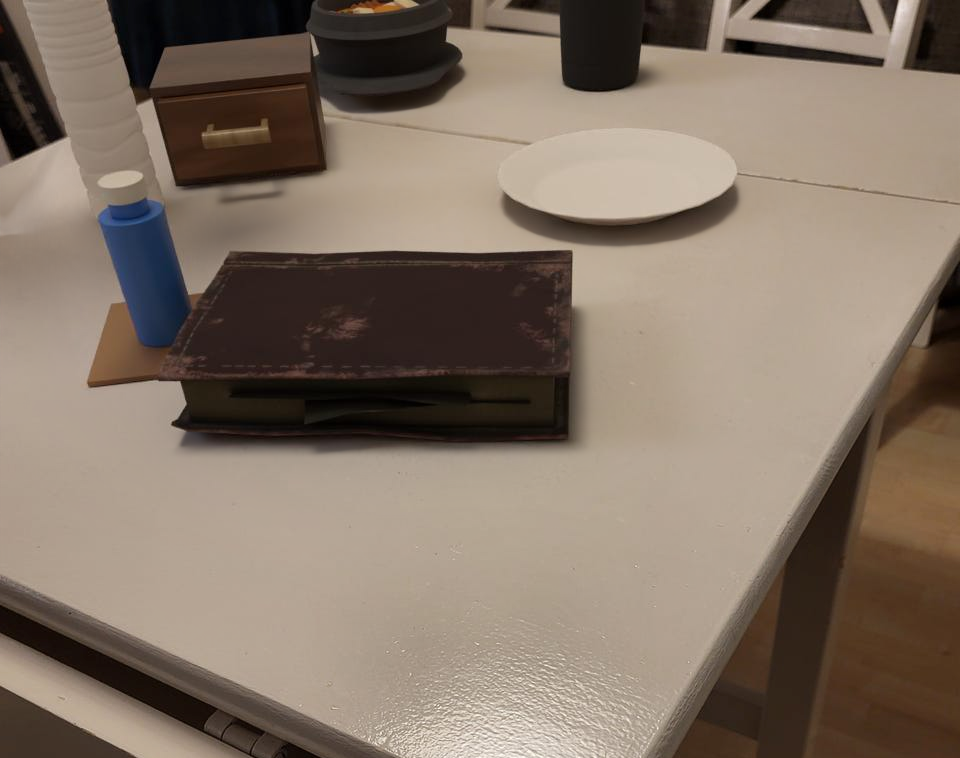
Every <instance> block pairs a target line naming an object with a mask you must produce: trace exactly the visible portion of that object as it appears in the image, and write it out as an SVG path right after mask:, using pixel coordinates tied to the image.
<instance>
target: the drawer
mask: <svg viewBox="0 0 960 758" xmlns="http://www.w3.org/2000/svg"><path fill="white" fill-rule="evenodd" d="M158 107H159V110H160V114H161V118H162V121H163V125H164V129H165V133H166V136H167V140H168V144H169V147H170V151H171V155H172V159H173V162H174V166H175V170H176V173H177V177H178V180H181V179H190V178H199V177H208V176H217V175H227V174H236V173H245V172H254V171H263V170H273V169H282V168H291V167H300V166H309V165H318V164H319V157H318V151H317V145H316V139H315V133H314V127H313V122H312V116H311V110H310V104H309V98H308V92H307V86H306V84H303V83H296V84H287V85H277V86H268V87H258V88H248V89H239V90H229V91H220V92H210V93H201V94H191V95H181V96H172V97H170V98H163V99H159V101H158Z"/></svg>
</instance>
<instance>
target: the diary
mask: <svg viewBox="0 0 960 758" xmlns="http://www.w3.org/2000/svg"><path fill="white" fill-rule="evenodd" d="M573 256H574V252H573V250H572V249H555V250H554V249H552V250H551V249H549V250H525V251H523V250H521V251H498V252H497V251H495V252H494V251H493V252H461V251H459V252H458V251H457V252H455V251H421V250H420V251H419V250H374V251H351V252H347V251H345V252H321V253H319V252H318V253H310V252H309V253H306V252H279V251H277V252H276V251H252V250H230V251H228V254H227V256H226V257H225V259H224V261H223V262H222V264H221V265H220V267H219V269H218V270H217V272H216V274H215V275H214V277H213V279H212V280H211V281H210V283H209V284H208V286H207V287H206V288H205V290H204V291H203V292H202V293H203V294H202V296H201V297H200V298H199V300H198V301H197V303H196V304H195V306H194V308H193V309H192V311H191V313H190V314H189V316H188V318H187V319H186V321H185V323H184V324H183V326H182V328H181V329H180V331H179V333H178V335H177V337H176V339H175V341H174V343H173V344H172V346H171V348H170V350H169V352H168V354H167V356H166V358H165V360H164V362H163V364H162V366H161V368H160V371H159V374H158V378H157V379H156V380H157V381H158V382H180V386H181V389H182V393H183V397H184V399H185V403H186V404H185V406H184V407H183V408H182V411H181V412H180V414H179V416H178V417H177V418H176V419H174V420H172V421H171V423H170V425H171V426H172V427H174V428H176V429H179V430H183V431H185V432H193V433H194V432H195V433H210V434H232V435H253V436H271V437H272V436H273V437H274V436H275V437H276V436H308V435H309V436H310V435H341V434H342V435H346V434H347V435H348V434H367V435H378V436H379V435H380V436H391V437H400V438H412V439H413V438H414V439H421V440H422V439H424V440H436V441H445V442H458V443H462V442H463V443H464V442H466V443H468V442H497V441H498V442H499V441H527V440H529V441H530V440H531V441H533V440H568V439H569V433H570V432H569V431H570V430H569V428H570V427H569V426H570V384H571V383H570V378H571V360H572V357H571V356H572V355H571V354H572V314H573V313H572V312H573V311H572V307H573V304H572V303H573V261H574V260H573V259H574V258H573Z"/></svg>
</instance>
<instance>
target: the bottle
mask: <svg viewBox="0 0 960 758" xmlns="http://www.w3.org/2000/svg"><path fill="white" fill-rule="evenodd" d="M98 187H99V190H100V193H101V196H102V199H103V201H104V203H106V204H108V208H106V209H104V210H103V211H102V212H101V213H100V214H99V216H98V220H97V221H98V225H99V227H100V230H101V233H102V236H103V239H104V242H105V244H106V249H107V250H108V255H109V256H110V260H111V263H112V266H113V269H114V272H115V274H116V278H117V280H118V284H119V287H120V289H121V293H122V296H123V299H124V302H126V305H127V308H128V311H129V314H130V317H131V320H132V323H133V326H134V329H135V332H136V335H137V338H138V340H139V341H140V342H141V343H142V344H144V345H147V346H151V347H165V346H171V345H172V344H173V343H174V341H175V339H176V337H177V335H178V333H179V331H180V329H181V328H182V326H183V324H184V323H185V321H186V319H187V318H188V316H189V314H190V313H191V311H192V306H191V302H190V299H189V295H190V294H189V292H188V288H187V285H186V282H185V278H184V275H183V272H182V271H183V270H182V267H181V264H180V261H179V257H178V253H177V250H176V247H175V244H174V243H175V242H174V240H173V236H172V233H171V229H170V226H169V221H168V218H167V215H166V212H165V211H166V210H165V207H163V205H162V204H161V203H159V202H157V201H154V200H147V195H148V190H147V187H146V183H145V180H144V176H143V174H142V173H140V172H137V171H120V172H115V173H111V174H108V175H106V176H104V177H102V178H101V179H99V181H98Z"/></svg>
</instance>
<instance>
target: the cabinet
mask: <svg viewBox="0 0 960 758" xmlns="http://www.w3.org/2000/svg"><path fill="white" fill-rule="evenodd" d="M311 36H312V35H311V34H310V33H309V32H305V33H296V34H295V33H293V34H285V35H276V36H264V37H255V38H247V39H245V38H244V39H236V40H225V41H216V42H206V43H198V44H196V43H195V44H188V45H187V44H186V45H177V46H176V45H175V46H167V47H166V46H165V47H164V49H163V52H162V54H161V57H160V60H159V62H158V64H157V67H156V70H155V72H154V75H153V78H152V80H151V83H150V85H149V93H150V96H151V100H152V105H153V107H154V112H155V115H156V119H157V122H158V126H159V129H160V133H161V137H162V141H163V144H164V148H165V151H166V155H167V159H168V162H169V166H170V170H171V173H172V177H173V180H174V184H175V187H179V186H180V187H181V186H188V185H197V184H206V183H214V182H215V183H216V182H223V181H233V180H235V181H236V180H243V179H253V178H260V177H262V178H263V177H270V176H280V175H289V174H296V173H297V174H299V173H307V172H317V171H326V170H327V169H328V168H327V146H326V124H325V118H324V112H323V105H322V98H321V91H320V85H319V80H318V79H317V73H316V67H315V61H314V56H315V55H314V49H313V43H312V37H311ZM296 83H303V84H306V86H307V92H308V98H309V104H310V110H311V116H312V122H313V127H314V133H315V139H316V145H317V151H318V157H319V164H318V165H309V166H300V167H291V168H282V169H273V170H263V171H254V172H245V173H236V174H227V175H217V176H208V177H199V178H190V179H181V180H178V177H177V173H176V170H175V166H174V162H173V159H172V155H171V151H170V147H169V144H168V140H167V136H166V133H165V129H164V125H163V121H162V118H161V114H160V110H159V107H158V101H159V99H163V98H170V97H172V96H181V95H191V94H201V93H210V92H220V91H229V90H239V89H248V88H258V87H268V86H277V85H287V84H296Z"/></svg>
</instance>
